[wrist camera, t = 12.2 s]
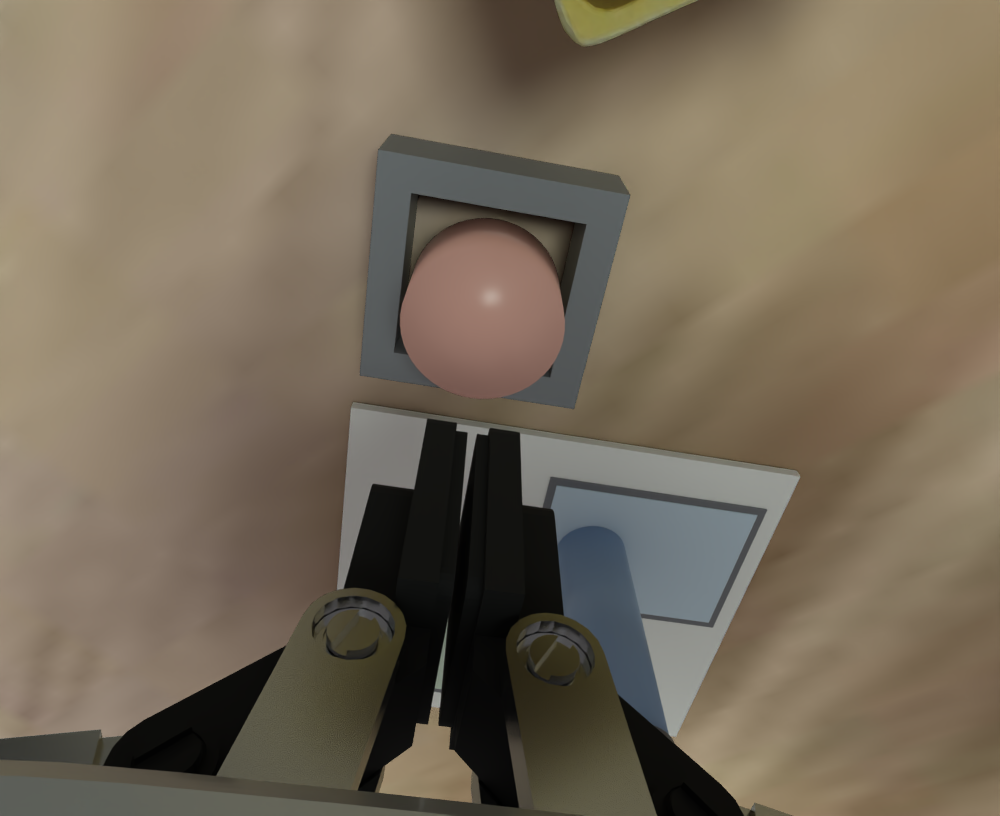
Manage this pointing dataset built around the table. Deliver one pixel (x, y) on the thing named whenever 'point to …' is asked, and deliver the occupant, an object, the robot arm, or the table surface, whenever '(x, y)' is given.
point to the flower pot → (609, 17)
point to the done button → (483, 310)
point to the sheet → (612, 524)
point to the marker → (610, 613)
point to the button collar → (503, 186)
